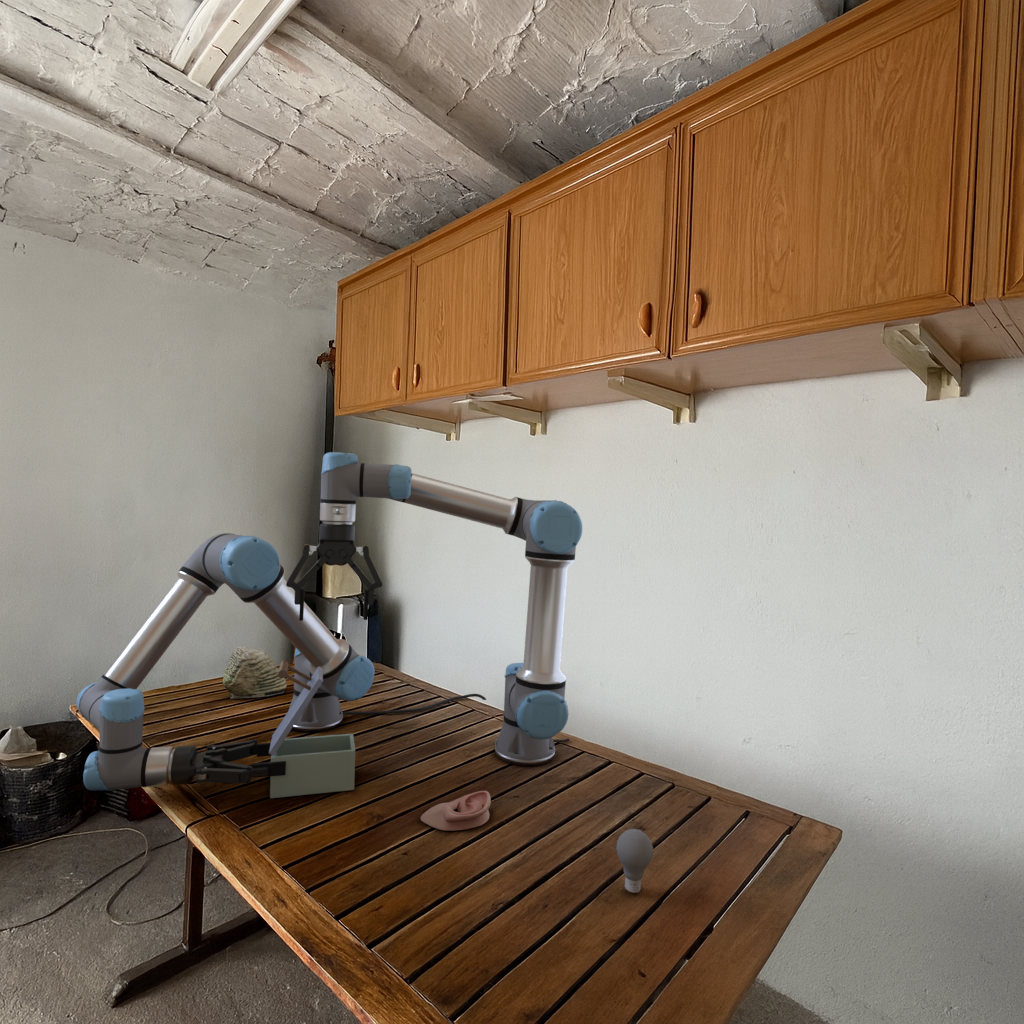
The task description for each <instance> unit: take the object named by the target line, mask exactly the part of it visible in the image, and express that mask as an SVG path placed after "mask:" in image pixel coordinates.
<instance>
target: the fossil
mask: <svg viewBox="0 0 1024 1024" xmlns="http://www.w3.org/2000/svg"><path fill="white" fill-rule="evenodd" d="M278 672H279V668H278V667H277V665H276V663H275V662H274V660H273V659H272V658H271V657H270V656H269V655H268V654H267V653H266V652H265V650H264V649H263V648H260V647H258V648H251V647H247V646H246V647H245V646H238V647H237V648H236V649H235V650H233V651H232V653H231V656H230V657H229V659H228V660H227V663H226V666H225V668H224V671H223V675H222V676H223V677H222V685H223V687H224V688H225V690H226V691H228V693H229V698H230V699H250V698H264V697H271V696H275V695H281V694H284V693H285V691H286V689H287V687H288V686H287V680H286V677H285V678H280V677H279V676H278Z"/></svg>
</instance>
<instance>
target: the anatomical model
mask: <svg viewBox="0 0 1024 1024" xmlns="http://www.w3.org/2000/svg"><path fill="white" fill-rule="evenodd" d="M491 799H492V798H491V793H490V792H489V791H488V790H478V791H475V792H472V793H468V794H465V795H463V796H461V797H459V798H457V799H455V800H451V801H449V802H441V803H438V804H436V805H434V806H432V807H430V808H429V809H427V810H426V811H425V812H424V813H423V814H421V816H420V817H419V818H420V821H421V822H423V823H424V824H426V825H428V826H429V827H431V828H434V829H437V830H440V831H443V832H445V831H446V832H449V831H450V832H452V831H464V830H469V829H474V828H477V827H480V826H482V825H485V824H486V823H487V822H488V821H489V820H490V810H489V809H490V807H491V803H492V801H491Z"/></svg>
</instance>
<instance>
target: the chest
mask: <svg viewBox="0 0 1024 1024" xmlns="http://www.w3.org/2000/svg"><path fill="white" fill-rule="evenodd" d="M279 761H286V771H285V775H282V776H269V779H270V781H269V782H270V783H269V798H270V799H278V798H286V797H288V798H289V797H296V796H307V795H316V794H327V793H337V792H346V791H347V792H348V791H355V779H356V746H355V738H354V733H343V734H329V735H317V736H303V737H292V738H291V737H289V738H285V739H284V741H283V742H282V744H281V745H280V747H279V748H278V750H277V751H276V753H275V754H274V756H273V755H271V756H270V762H279Z"/></svg>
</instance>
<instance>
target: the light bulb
mask: <svg viewBox="0 0 1024 1024" xmlns="http://www.w3.org/2000/svg"><path fill="white" fill-rule="evenodd" d="M615 849H616V854H617V857H618V859H619V861H620V863H621V865H622V867H623V873H624V874H623V875H624V876H625V878H624V888H625V890H627V891H628V892H630V893H634V894H635V893H639V892H640V891H641V889H642V887H641V886H642V879H643V877H644V875H645V871H646V868H647V867H648V866H649V864H650V863H651V861H652V859H653V855H654V847H653V843H652V841H651V838H649V836H648V835H647V834H646V833H645V832H643V831H642V830H641V829H636V828H629V829H627V830H625V831H623V832H622V833H621V834H620V835H619V837H618V839H617V841H616V847H615Z"/></svg>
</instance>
